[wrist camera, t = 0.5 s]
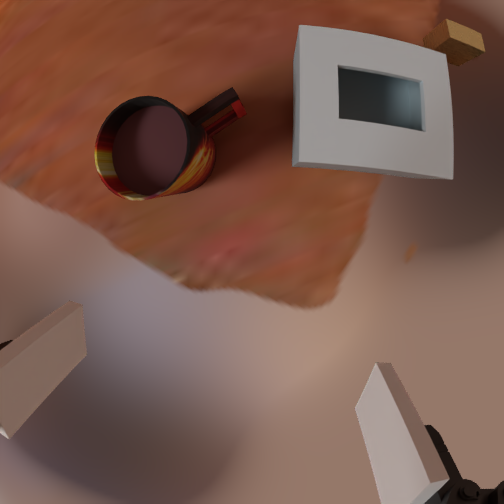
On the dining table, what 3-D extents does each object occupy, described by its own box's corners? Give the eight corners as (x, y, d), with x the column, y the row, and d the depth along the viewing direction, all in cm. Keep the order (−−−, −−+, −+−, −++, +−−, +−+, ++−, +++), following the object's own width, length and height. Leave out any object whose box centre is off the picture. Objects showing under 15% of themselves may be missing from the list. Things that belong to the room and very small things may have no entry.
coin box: (293, 60, 32) (299, 25, 22) (410, 78, 31) (445, 54, 21) (292, 166, 35) (299, 161, 26) (412, 177, 34) (453, 179, 25)
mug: (249, 113, 34) (238, 83, 22) (191, 207, 37) (155, 220, 26) (185, 80, 33) (151, 44, 22) (131, 171, 37) (79, 170, 25)
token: (422, 38, 29) (445, 18, 22) (455, 49, 29) (481, 33, 21) (425, 55, 30) (450, 37, 22) (458, 66, 29) (485, 52, 22)
